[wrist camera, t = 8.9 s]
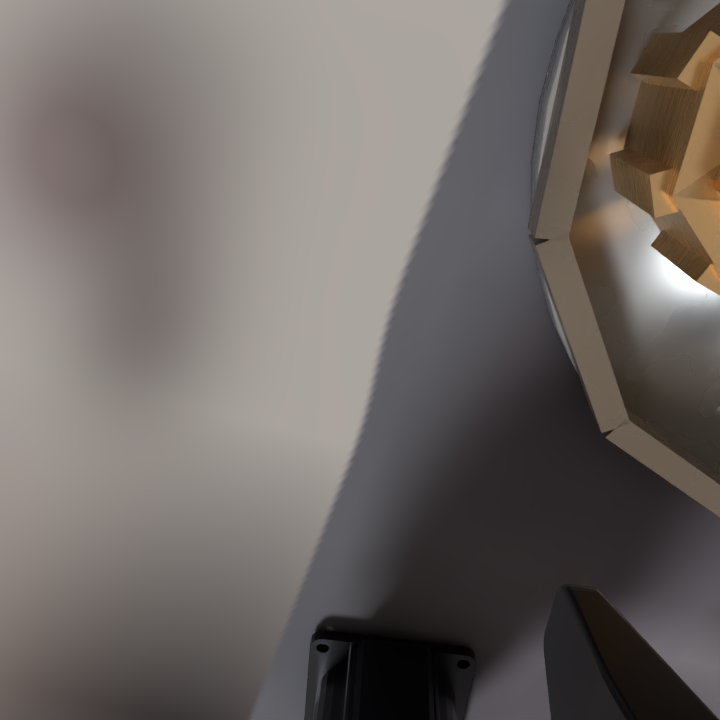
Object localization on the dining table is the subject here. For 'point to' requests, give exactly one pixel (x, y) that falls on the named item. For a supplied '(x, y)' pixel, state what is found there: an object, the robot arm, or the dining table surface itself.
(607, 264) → the carrier
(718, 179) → the planet gear
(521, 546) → the dining table surface
